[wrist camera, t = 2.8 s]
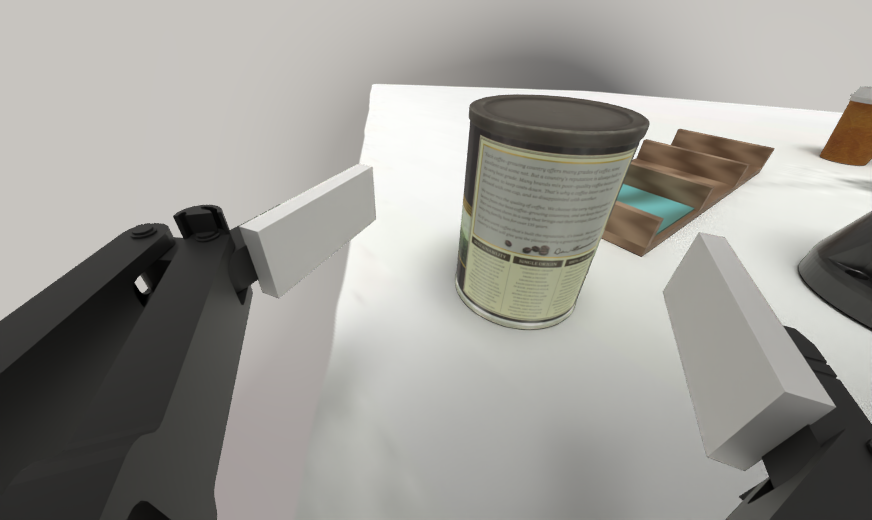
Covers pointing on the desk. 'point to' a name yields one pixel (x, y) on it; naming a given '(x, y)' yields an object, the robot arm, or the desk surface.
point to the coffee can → (538, 202)
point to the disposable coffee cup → (853, 132)
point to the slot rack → (678, 186)
